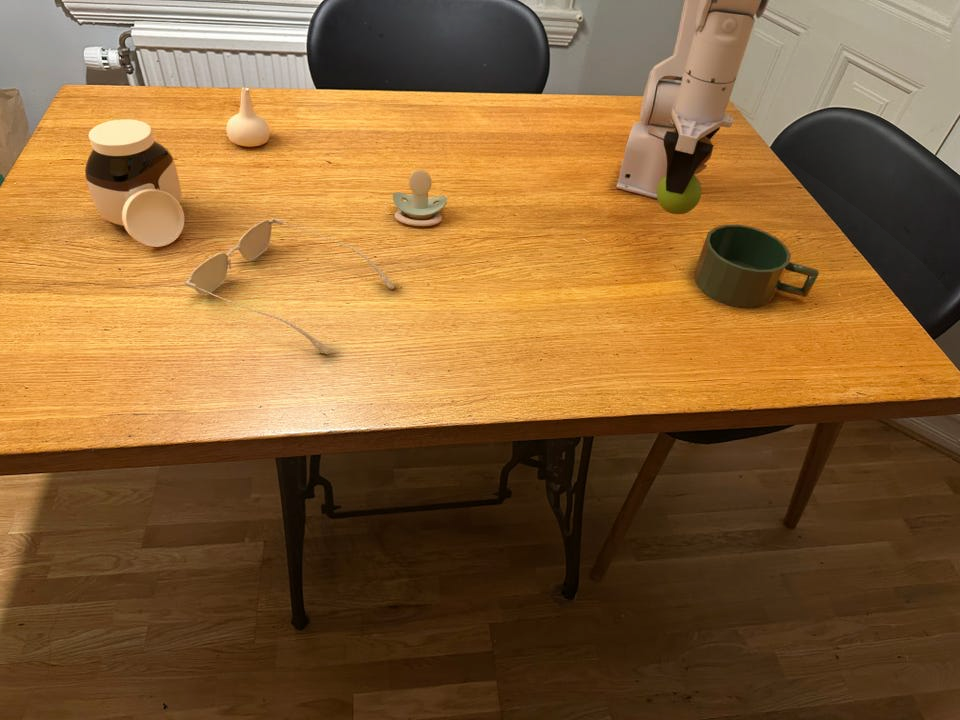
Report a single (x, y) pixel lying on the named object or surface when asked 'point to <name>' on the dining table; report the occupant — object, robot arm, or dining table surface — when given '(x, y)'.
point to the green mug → (747, 267)
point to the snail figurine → (691, 194)
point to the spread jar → (134, 182)
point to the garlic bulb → (247, 125)
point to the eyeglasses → (250, 248)
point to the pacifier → (419, 202)
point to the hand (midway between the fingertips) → (677, 182)
